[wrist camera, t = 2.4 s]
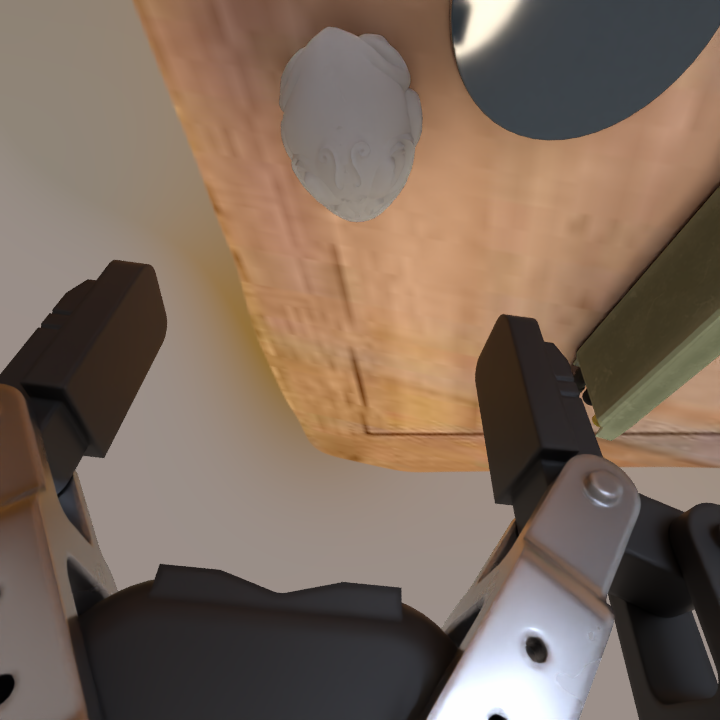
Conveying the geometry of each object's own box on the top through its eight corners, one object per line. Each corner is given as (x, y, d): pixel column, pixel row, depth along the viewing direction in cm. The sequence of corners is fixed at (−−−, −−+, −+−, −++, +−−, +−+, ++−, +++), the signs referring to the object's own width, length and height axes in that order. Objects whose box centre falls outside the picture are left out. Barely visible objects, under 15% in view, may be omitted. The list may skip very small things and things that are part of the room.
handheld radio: (884, 72, 19) (565, 404, 37) (817, 51, 19) (529, 396, 37) (1025, 130, 15) (585, 476, 33) (941, 103, 14) (543, 467, 33)
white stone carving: (314, 176, 24) (293, 249, 20) (270, 20, 19) (228, 67, 14) (425, 157, 23) (432, 229, 18) (410, -14, 18) (414, 25, 13)
